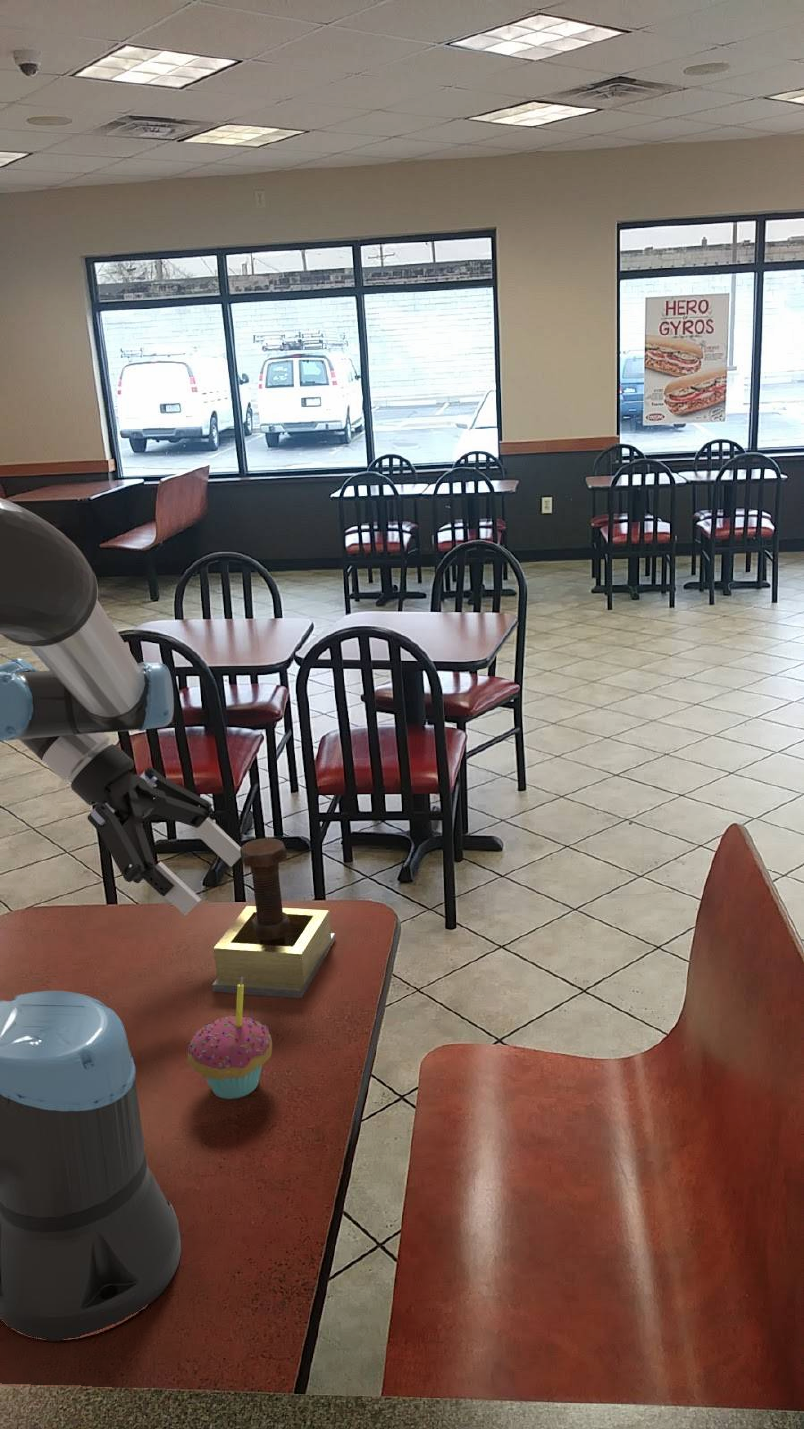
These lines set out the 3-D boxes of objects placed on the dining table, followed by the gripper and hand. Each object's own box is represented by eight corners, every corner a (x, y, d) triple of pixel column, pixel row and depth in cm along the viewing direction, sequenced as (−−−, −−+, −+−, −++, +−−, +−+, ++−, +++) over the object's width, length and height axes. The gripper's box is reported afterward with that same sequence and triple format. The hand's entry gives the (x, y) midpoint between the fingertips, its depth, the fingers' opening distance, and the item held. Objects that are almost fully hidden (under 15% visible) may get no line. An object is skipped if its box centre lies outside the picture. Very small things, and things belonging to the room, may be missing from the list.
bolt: (250, 951, 138) (237, 841, 134) (289, 943, 140) (278, 833, 135) (258, 973, 133) (245, 859, 129) (299, 964, 134) (288, 851, 130)
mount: (300, 998, 129) (297, 960, 127) (213, 991, 132) (208, 954, 130) (335, 940, 142) (332, 905, 140) (254, 935, 145) (251, 900, 143)
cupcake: (261, 1052, 119) (250, 953, 115) (288, 1095, 112) (276, 990, 108) (183, 1076, 116) (169, 975, 112) (205, 1122, 108) (190, 1015, 105)
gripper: (122, 750, 148) (237, 859, 148) (16, 821, 125) (153, 950, 125) (154, 713, 145) (271, 824, 146) (51, 779, 122) (191, 910, 123)
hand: (217, 882), depth 136 cm, fingers open, 13 cm apart
